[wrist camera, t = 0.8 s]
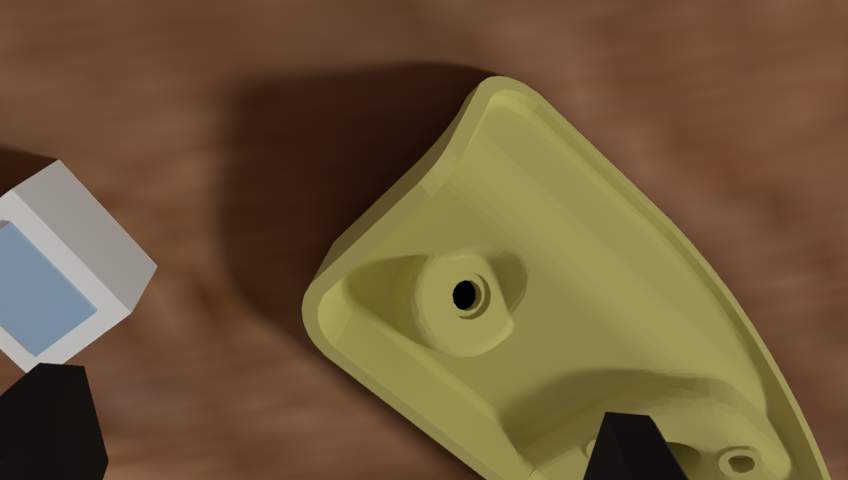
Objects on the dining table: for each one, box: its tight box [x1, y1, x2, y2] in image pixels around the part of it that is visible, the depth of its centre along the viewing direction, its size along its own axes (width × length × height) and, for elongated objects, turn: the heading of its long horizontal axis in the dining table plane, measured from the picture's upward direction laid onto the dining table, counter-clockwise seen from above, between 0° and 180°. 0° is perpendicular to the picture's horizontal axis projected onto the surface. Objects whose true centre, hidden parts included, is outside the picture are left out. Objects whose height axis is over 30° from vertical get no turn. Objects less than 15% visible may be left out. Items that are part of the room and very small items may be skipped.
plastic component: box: [302, 76, 831, 480], centre depth 29 cm, size 20×7×10 cm
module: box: [0, 160, 158, 373], centre depth 25 cm, size 4×5×5 cm
